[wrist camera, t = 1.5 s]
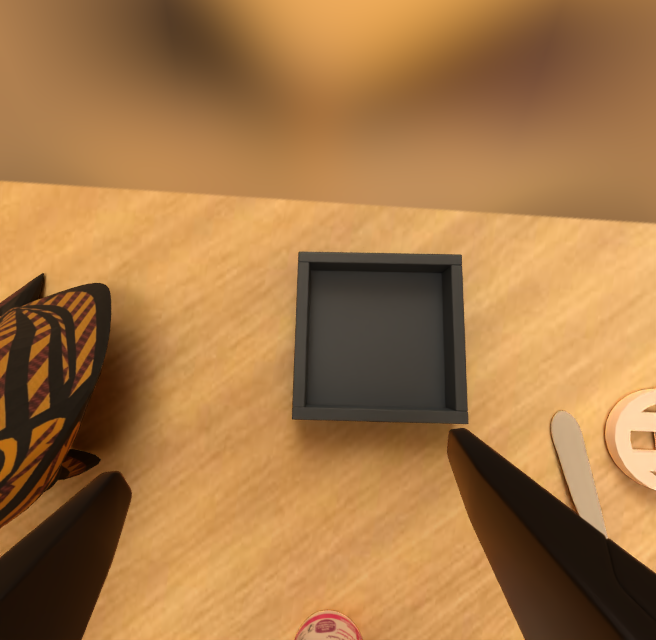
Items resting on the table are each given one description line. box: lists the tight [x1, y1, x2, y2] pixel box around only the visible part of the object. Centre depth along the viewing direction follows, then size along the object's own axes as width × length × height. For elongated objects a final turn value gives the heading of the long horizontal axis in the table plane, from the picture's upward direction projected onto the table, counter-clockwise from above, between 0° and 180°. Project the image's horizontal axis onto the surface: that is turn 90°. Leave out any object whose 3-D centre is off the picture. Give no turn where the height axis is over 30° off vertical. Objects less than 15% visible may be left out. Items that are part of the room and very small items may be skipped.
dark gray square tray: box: [292, 252, 468, 424], centre depth 23 cm, size 12×12×2 cm
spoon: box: [551, 411, 608, 539], centre depth 21 cm, size 4×21×2 cm, turn 8°
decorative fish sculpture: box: [0, 273, 111, 528], centre depth 18 cm, size 14×16×12 cm
